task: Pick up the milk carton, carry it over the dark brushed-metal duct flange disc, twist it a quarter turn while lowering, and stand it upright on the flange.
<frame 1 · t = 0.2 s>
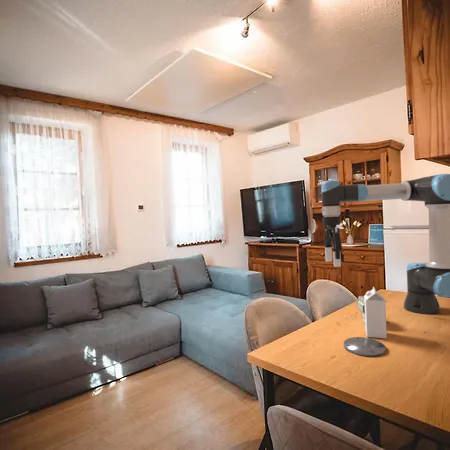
hand: (332, 264, 139), 27 cm above the table, fingers open, 13 cm apart
milk carton: (375, 335, 127), on the table
duct flange: (364, 347, 116), on the table
pneumatic valve: (366, 322, 141), on the table
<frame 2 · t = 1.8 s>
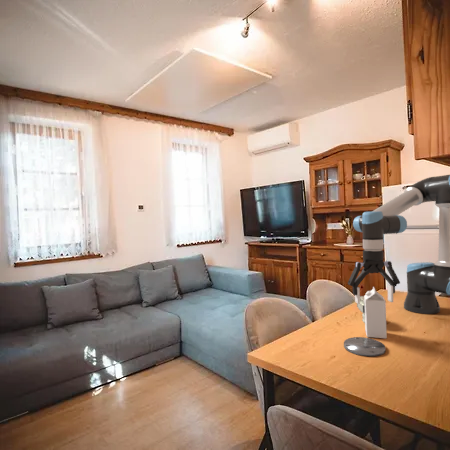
hand: (374, 302, 127), 13 cm above the table, fingers open, 13 cm apart
nothing on the table moved.
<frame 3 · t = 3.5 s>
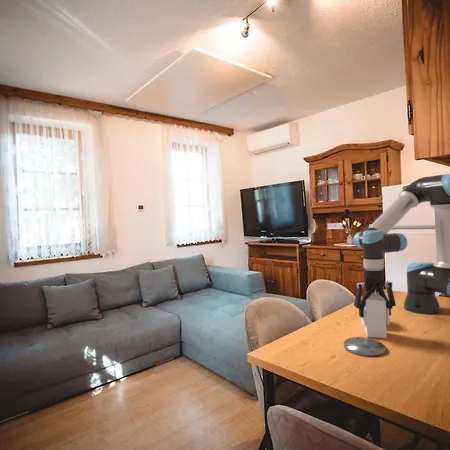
hand: (375, 324, 127), 4 cm above the table, fingers closed on milk carton, 9 cm apart
milk carton: (375, 335, 127), on the table, touching gripper
everything else where it was.
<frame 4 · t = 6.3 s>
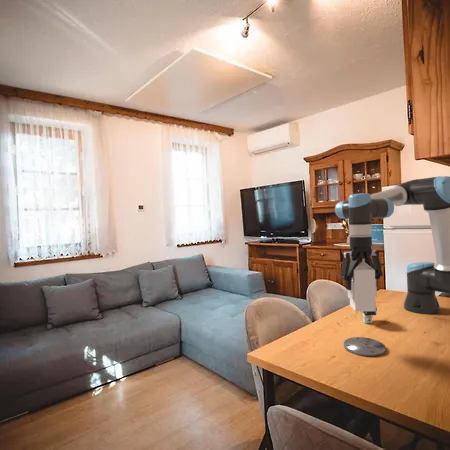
hand: (362, 297, 115), 19 cm above the table, fingers closed on milk carton, 9 cm apart
milk carton: (362, 309, 115), point 14 cm above the table, touching gripper
everything else where it was.
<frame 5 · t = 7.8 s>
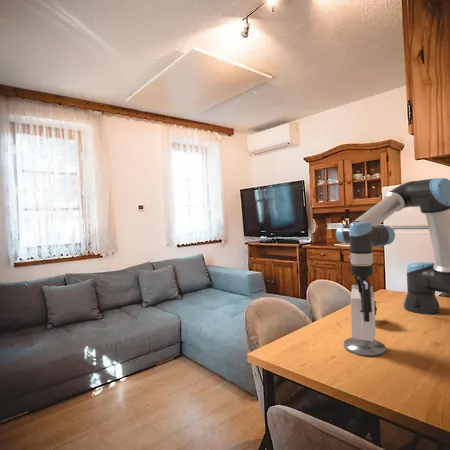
hand: (363, 324, 116), 9 cm above the table, fingers closed on milk carton, 9 cm apart
milk carton: (363, 337, 116), point 4 cm above the table, touching gripper
everything else where it was.
when the fingers open (7 cm above the table, at t = 9.0 s): milk carton drops 1 cm, resting on duct flange.
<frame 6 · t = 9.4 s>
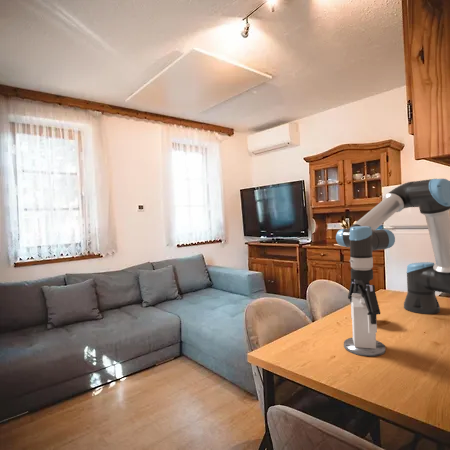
hand: (363, 325, 116), 8 cm above the table, fingers open, 13 cm apart
milk carton: (364, 344, 116), point 1 cm above the table, touching duct flange
everything else where it was.
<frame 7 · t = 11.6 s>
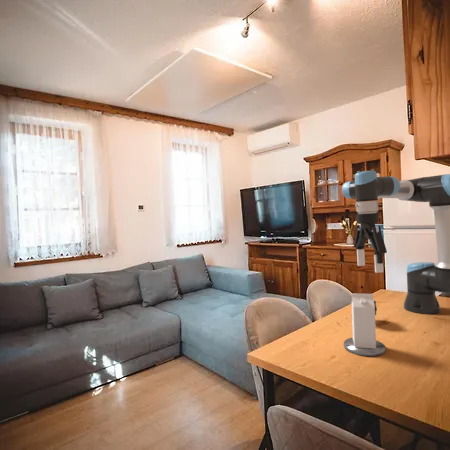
hand: (369, 268, 119), 29 cm above the table, fingers open, 13 cm apart
nothing on the table moved.
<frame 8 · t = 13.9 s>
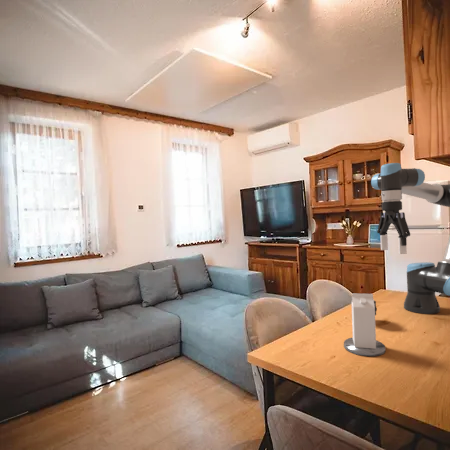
hand: (393, 251, 131), 33 cm above the table, fingers open, 13 cm apart
nothing on the table moved.
at the end: milk carton 0.2 cm from the duct flange (horizontally); milk carton tilted 0°; the gripper is holding nothing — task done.
